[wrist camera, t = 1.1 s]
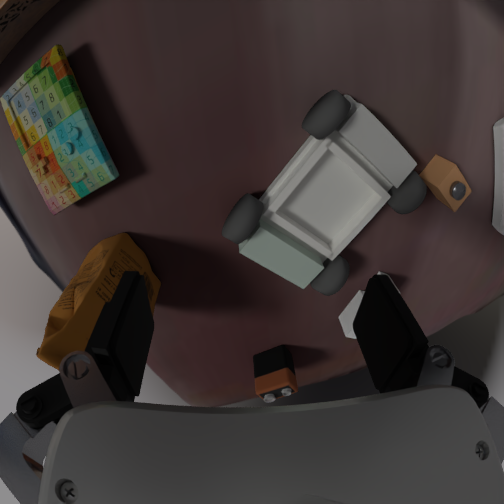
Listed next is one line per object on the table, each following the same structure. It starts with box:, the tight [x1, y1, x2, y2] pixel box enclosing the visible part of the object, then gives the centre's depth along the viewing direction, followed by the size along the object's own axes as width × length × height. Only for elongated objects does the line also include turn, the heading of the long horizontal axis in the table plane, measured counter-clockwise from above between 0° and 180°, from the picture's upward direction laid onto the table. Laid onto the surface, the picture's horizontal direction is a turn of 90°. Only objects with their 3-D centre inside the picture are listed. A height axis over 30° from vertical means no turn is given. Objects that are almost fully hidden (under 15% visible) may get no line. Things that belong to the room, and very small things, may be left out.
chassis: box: [222, 90, 427, 296], centre depth 34 cm, size 24×17×6 cm
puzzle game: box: [0, 45, 120, 216], centre depth 27 cm, size 12×5×20 cm
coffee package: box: [36, 233, 161, 370], centre depth 32 cm, size 10×12×22 cm
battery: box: [253, 345, 298, 402], centre depth 50 cm, size 4×7×10 cm, turn 119°
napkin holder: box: [339, 271, 400, 339], centre depth 46 cm, size 15×11×6 cm
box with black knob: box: [419, 155, 471, 212], centre depth 33 cm, size 6×4×6 cm
